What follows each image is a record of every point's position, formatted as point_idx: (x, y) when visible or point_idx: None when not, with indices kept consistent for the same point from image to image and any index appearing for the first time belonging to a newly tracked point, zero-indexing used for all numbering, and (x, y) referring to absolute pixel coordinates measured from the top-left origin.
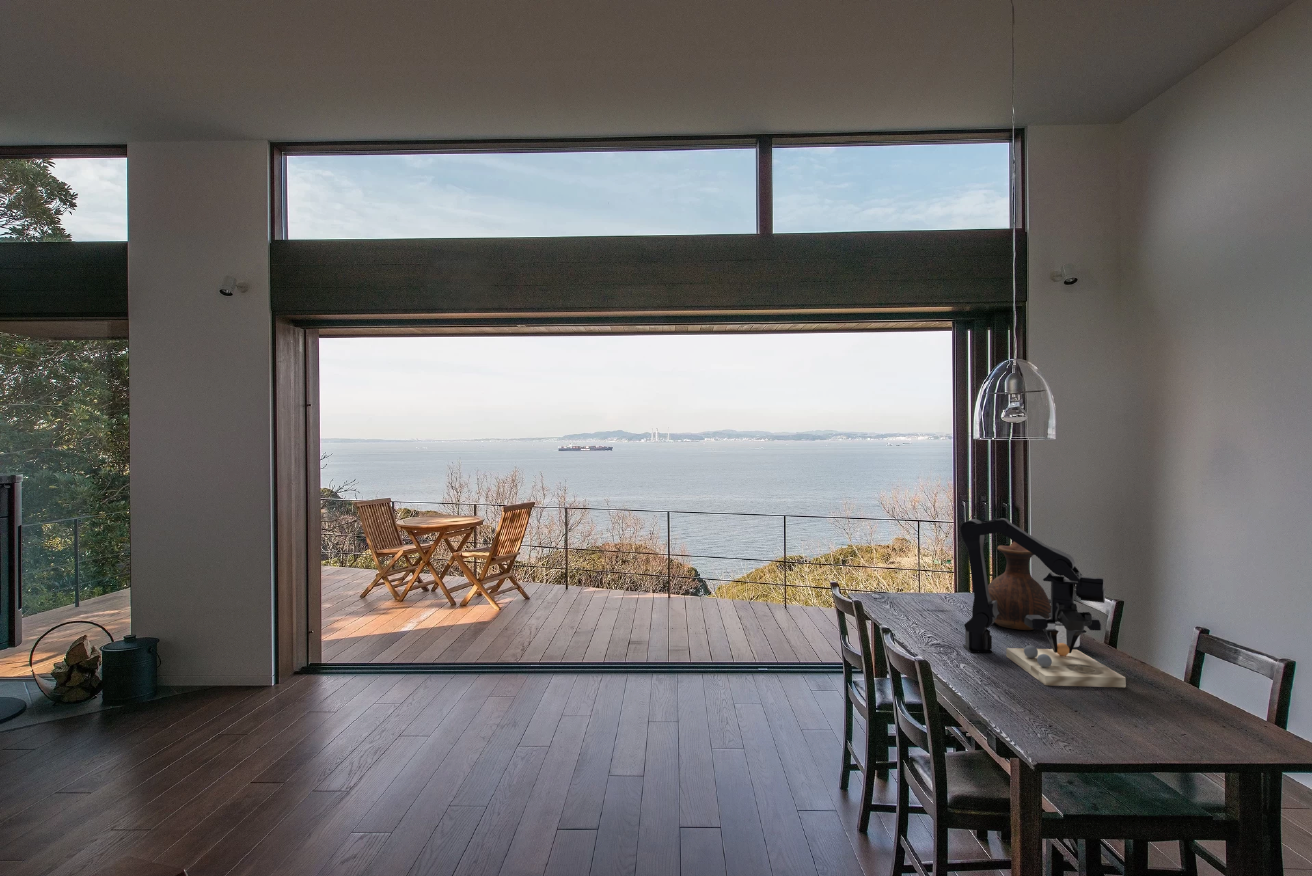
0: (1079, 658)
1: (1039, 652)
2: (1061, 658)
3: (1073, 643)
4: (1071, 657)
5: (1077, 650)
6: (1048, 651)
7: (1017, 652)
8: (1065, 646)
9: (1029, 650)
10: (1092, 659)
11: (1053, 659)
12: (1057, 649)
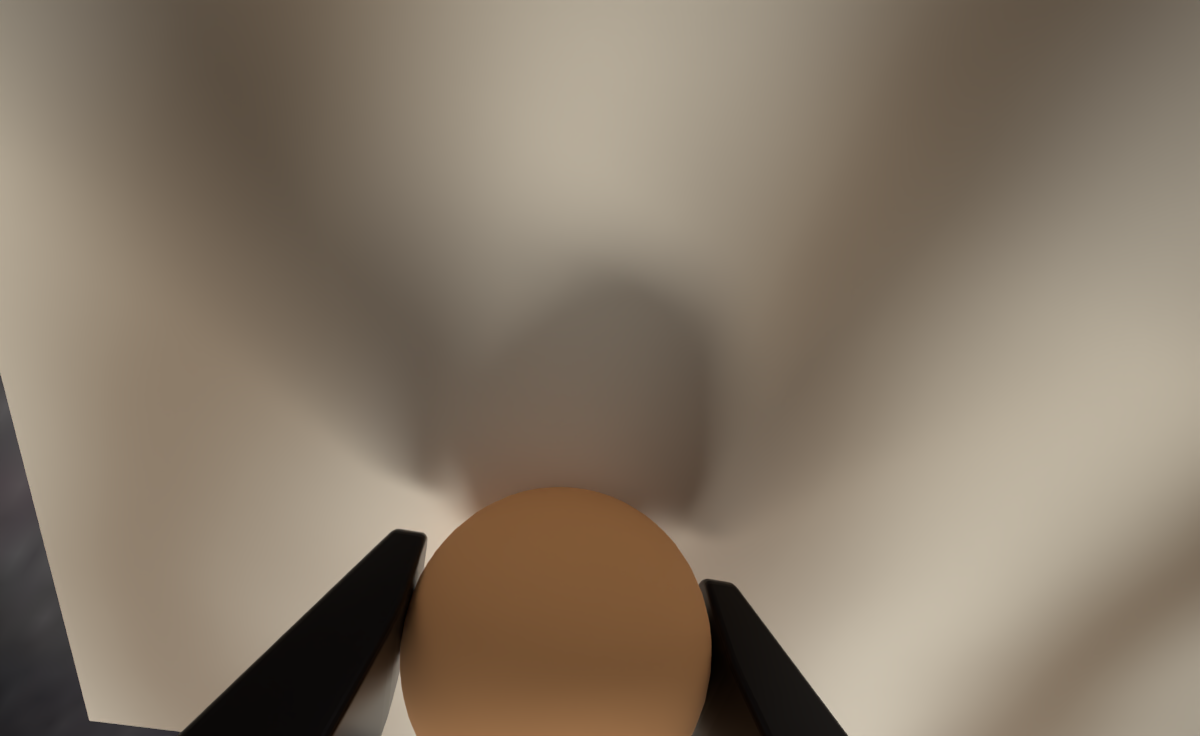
0: (314, 324)
1: (845, 686)
2: (746, 380)
3: (248, 731)
4: (461, 407)
5: (99, 692)
6: None
7: (1191, 721)
8: (551, 660)
9: None
10: (1, 207)
11: (996, 345)
12: (708, 634)
